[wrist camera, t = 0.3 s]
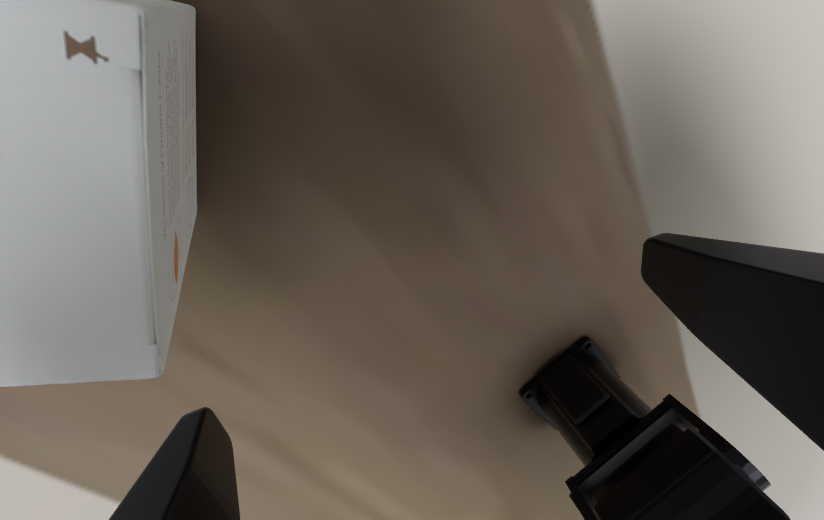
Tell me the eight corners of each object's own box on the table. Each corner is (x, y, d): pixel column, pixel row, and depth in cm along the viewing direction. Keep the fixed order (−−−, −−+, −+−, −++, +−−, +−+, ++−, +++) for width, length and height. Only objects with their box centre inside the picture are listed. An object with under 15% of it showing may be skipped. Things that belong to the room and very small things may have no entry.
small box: (-2, -41, 13) (-452, -146, 5) (200, 6, 16) (146, -8, 7) (37, 204, 17) (-186, 407, 8) (199, 215, 19) (162, 386, 10)
